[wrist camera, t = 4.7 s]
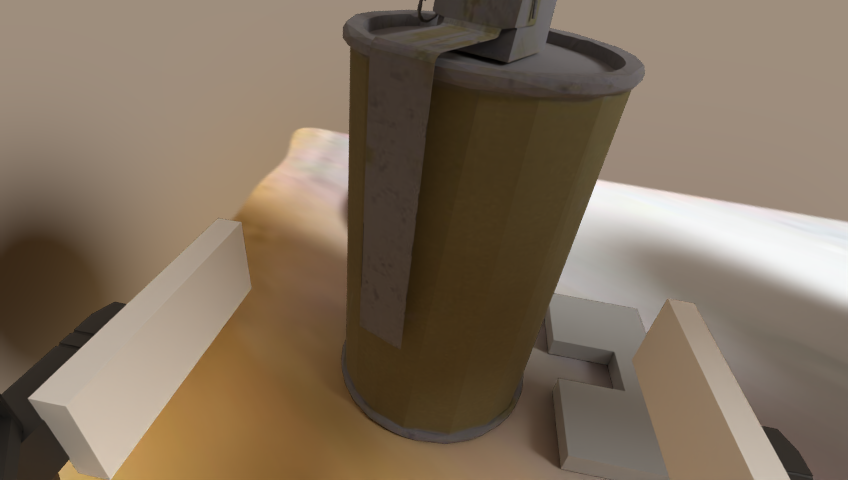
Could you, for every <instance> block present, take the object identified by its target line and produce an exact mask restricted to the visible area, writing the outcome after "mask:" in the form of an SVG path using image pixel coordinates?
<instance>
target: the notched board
mask: <svg viewBox="0 0 848 480" xmlns="http://www.w3.org/2000/svg"><path fill="white" fill-rule="evenodd" d="M544 319H545V328H546V337H547V346H548V353H549V354H554V355H559V356H564V357H569V358H575V359H580V360H585V361H590V362H595V363H600V364H605V365H608V369H609V373H610V377H611V381H612V385H613V389H611V388H606V387H601V386H596V385H591V384H586V383H581V382H576V381H571V380H566V379H561V378H558V380H557V383H556V385H555V387H554V389H553V391H552V392H553V401H554V411H555V420H556V429H557V438H558V448H559V457H560V466H561V469H563V470H568V471H573V472H578V473H582V474H587V475H592V476H596V477H601V478H606V479H611V480H670V478H669V475H668V472H667V469H666V466H665V462H664V459H663V456H662V453H661V450H660V447H659V444H658V440H657V437H656V434H655V431H654V428H653V425H652V422H651V419H650V415H649V412H648V409H647V406H646V403H645V400H644V397H643V393H642V390H641V387H640V384H639V381H638V378H637V375H636V371H635V368H634V365H633V362H632V359H633V357H634V355H635V354H636V352H637V350H638V348H639V347H640V345H641V343H642V342H643V340H644V338H645V337H646V332H645V329H644V327H643V324H642V321H641V319H640V316H639V313H638V310H637V309H635V308H630V307H625V306H619V305H614V304H608V303H603V302H598V301H592V300H587V299H582V298H576V297H571V296H565V295H560V294H555V293H554V294H553V296H552V299H551V302H550V304H549V307H548V309H547V312H546V315H545V317H544Z"/></svg>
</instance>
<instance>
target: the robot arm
mask: <svg viewBox="0 0 848 480" xmlns="http://www.w3.org/2000/svg"><path fill="white" fill-rule="evenodd" d="M251 289H252V287H251V281H250V274H249V268H248V261H247V255H246V248H245V242H244V236H243V229H242V223H241V222H238V221H232V220H227V219H221V218H217V219H216V220H215V221H214V222H213V223H212V224H211V225H210V226H209V227H208V228H207V229H206V230H205V231H204V232H203V233H202V234H201V235H200V236H198V237H197V239H195V240H194V241H193V242H192V243H191V244H190V245H189V246H188V247H187V248H186V249H185V250H184V251H183V252H182V253H181V254H179V255H178V257H176V258H175V259H174V260H173V261H172V262H171V263H170V264H169V265H168V266H167V267H166V268H165V269H164V270H163V271H162V272H161V273H159V274H158V275H157V276H156V277H155V278H154V279H153V280H152V281H151V282H150V283H149V284H148V285H147V286H146V287H145V288H144V289H143V290H142V291H140V292H139V293H138V294H137V295H136V296H135V297H134V298H133V299H132V300H131V301H130V302H129V303H128V304H123V303H118V302H113V303H111V304H109V305H108V306H106V307H104V308H102V309H100V310H98V311H96V312H95V313H93V314H91V315H90V316H89V317H88V318H87V319H86V320H85V321H83V322H82V323H81V324H80V325H79V326H78V327H77V328H76V329H74V332H73V333H70V334H69V335H68V336H67V337H65V338H64V339H63V340H62V341H61V342H60V344H59V346H55V347H54V348H53V349H52V350H51V351H50V352H49V353H47V354H46V355H45V356H44V357H43V358H42V359H41V360H40V361H39V362H37V363H36V364H35V365H34V366H33V367H32V368H31V369H29V370H28V371H27V372H26V373H25V374H24V375H23V376H22V377H21V378H19V379H18V380H17V381H16V382H15V383H14V384H13V385H11V386H10V387H9V388H8V389H7V390H6V391H5V392H4V393H3V394H0V480H60V477H59V473H58V472H59V471H60V470H61V468H62V467H63V466H64V465H65V464H66V462H67V461H68V460H70V462H71V463H72V464H73V466H74V467H75V469H76V470H77V472H78V473H80V474H85V475H89V476H94V477H98V478H103V479H108V480H111V479H112V477H113V476H114V475H115V473H116V472H117V471H118V469H119V468H120V467H121V465H122V464H123V463H124V461H125V460H126V458H127V457H128V456H129V454H130V453H131V452H132V450H133V449H134V448H135V446H136V445H137V443H138V442H139V441H140V439H141V438H142V437H143V435H144V434H145V433H146V431H147V430H148V429H149V427H150V426H151V424H152V423H153V422H154V420H155V419H156V418H157V416H158V415H159V414H160V412H161V411H162V410H163V408H164V407H165V405H166V404H167V403H168V401H169V400H170V399H171V397H172V396H173V395H174V393H175V392H176V391H177V389H178V388H179V386H180V385H181V384H182V382H183V381H184V380H185V378H186V377H187V376H188V374H189V373H190V371H191V370H192V369H193V367H194V366H195V365H196V363H197V362H198V361H199V359H200V358H201V357H202V355H203V354H204V352H205V351H206V350H207V348H208V347H209V346H210V344H211V343H212V342H213V340H214V339H215V338H216V336H217V335H218V333H219V332H220V331H221V329H222V328H223V327H224V325H225V324H226V323H227V321H228V320H229V318H230V317H231V316H232V314H233V313H234V312H235V310H236V309H237V308H238V306H239V305H240V304H241V302H242V301H243V299H244V298H245V297H246V295H247V294H248V293H249V291H250V290H251ZM632 362H633V365H634V368H635V371H636V375H637V378H638V381H639V384H640V387H641V390H642V393H643V397H644V400H645V403H646V406H647V409H648V412H649V415H650V419H651V422H652V425H653V428H654V431H655V434H656V437H657V440H658V444H659V447H660V450H661V453H662V456H663V459H664V462H665V466H666V469H667V472H668V475H669V478H670V480H813V478H812V476H813V475H812V473H811V472H810V470H809V468H808V467H807V465H806V463H805V461H804V460H803V458H802V456H801V455H800V453H799V451H798V450H797V449H796V448H795V447H794V446H793V445H792V444H791V443H790V442H789V441H788V440H787V439H786V438H785V437H784V436H783V434H782V433H781V432H780V431H779V430H778V429H774V428H769V427H764V426H761V425H760V423H759V421H758V419H757V417H756V416H755V414H754V412H753V410H752V408H751V406H750V405H749V403H748V401H747V399H746V397H745V395H744V394H743V392H742V390H741V388H740V386H739V384H738V383H737V381H736V379H735V377H734V375H733V373H732V372H731V370H730V368H729V366H728V364H727V362H726V361H725V359H724V357H723V355H722V353H721V351H720V350H719V348H718V346H717V344H716V342H715V340H714V339H713V337H712V335H711V333H710V331H709V329H708V328H707V326H706V324H705V322H704V320H703V318H702V317H701V315H700V313H699V311H698V309H697V307H696V306H695V304H694V303H690V302H685V301H679V300H674V299H667V301H666V302H665V304H664V306H663V307H662V309H661V311H660V313H659V314H658V316H657V318H656V319H655V321H654V323H653V325H652V326H651V328H650V330H649V331H648V333H647V335H646V337H645V338H644V340H643V342H642V343H641V345H640V347H639V348H638V350H637V352H636V354H635V355H634V357H633V359H632Z"/></svg>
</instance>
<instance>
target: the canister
mask: <svg viewBox="0 0 848 480" xmlns="http://www.w3.org/2000/svg"><path fill="white" fill-rule="evenodd" d="M422 1H423V0H420V1H419V4H418V9H417V10H397V11H374V12H367V13H361V14H356V15H355V16H353V17H352V18H350V19H349V20H348V21H347V22H346V23H345V25H344V27H343V38H344V40H345V41H346V42H347V44H348V45H349V46H350V109H349V110H350V111H349V112H350V113H349V181H348V253H347V325H346V340H345V343H344V345H343V351H342V372H343V376H344V380H345V384H346V386H347V388H348V390H349V392H350V394H351V396H352V398H353V400H354V401H355V402H356V403H357V404H358V406H359V407H360V408H361V409H362V410H363V411H364V412H365V413H366V415H367V416H368V417H369V418H371V419H372V420H374V421H375V422H377V423H378V424H380V425H381V426H383V427H384V428H386V429H388V430H390V431H392V432H394V433H396V434H398V435H401V436H403V437H406V438H410V439H413V440H417V441H424V442H434V443H443V444H448V443H454V442H461V441H467V440H470V439H473V438H476V437H479V436H482V435H483V434H485V433H486V432H488V431H490V430H491V429H493V428H494V427H496V426H498V425H499V424H500V423H501V422H502V421H504V420H505V419H506V418H507V417H508V416H509V414H510V413H511V411H512V410H513V409H514V407H515V405H516V403H517V401H518V399H519V396H520V394H521V389H522V382H523V374H524V373H523V372H524V370H525V367H526V364H527V362H528V359H529V357H530V354H531V351H532V349H533V346H534V343H535V341H536V338H537V336H538V333H539V330H540V328H541V325H542V323H543V320H544V317H545V315H546V312H547V309H548V307H549V304H550V302H551V299H552V296H553V294H554V291H555V289H556V286H557V283H558V281H559V278H560V275H561V273H562V270H563V268H564V265H565V262H566V260H567V257H568V254H569V252H570V249H571V247H572V244H573V241H574V239H575V236H576V234H577V231H578V228H579V226H580V223H581V220H582V218H583V215H584V213H585V210H586V207H587V205H588V202H589V200H590V197H591V194H592V192H593V189H594V186H595V184H596V181H597V179H598V176H599V173H600V171H601V168H602V166H603V163H604V160H605V157H606V155H607V152H608V150H609V147H610V145H611V142H612V139H613V137H614V134H615V131H616V129H617V126H618V124H619V121H620V118H621V116H622V113H623V111H624V108H625V105H626V103H627V100H628V97H629V95H630V92H631V90H632V89H633V88H634V87H635V86H636V85H638V84H639V83H640V82H641V81H642V80H643V77H644V74H645V69H644V65H643V64H642V62H641V61H640V60H639V59H637V57H636V56H634V55H632V54H630V53H628V52H626V51H624V50H622V49H620V48H618V47H616V46H612V45H609V44H606V43H603V42H600V41H597V40H593V39H590V38H587V37H584V36H581V35H578V34H574V33H570V32H565V31H560V30H556V29H552V28H550V24H551V20H552V16H553V13H554V9H555V5H556V1H557V0H435V2H434V7H433V11H421V8H422ZM425 1H426V0H425Z"/></svg>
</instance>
